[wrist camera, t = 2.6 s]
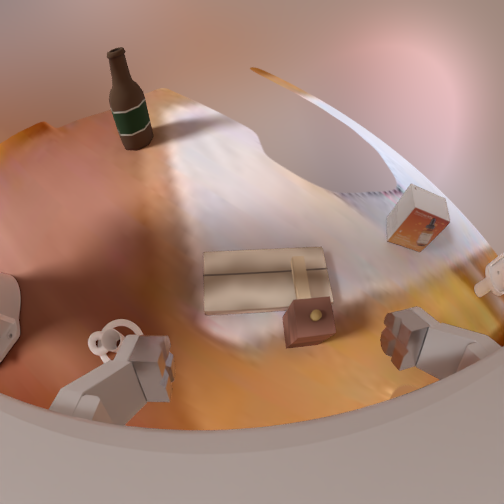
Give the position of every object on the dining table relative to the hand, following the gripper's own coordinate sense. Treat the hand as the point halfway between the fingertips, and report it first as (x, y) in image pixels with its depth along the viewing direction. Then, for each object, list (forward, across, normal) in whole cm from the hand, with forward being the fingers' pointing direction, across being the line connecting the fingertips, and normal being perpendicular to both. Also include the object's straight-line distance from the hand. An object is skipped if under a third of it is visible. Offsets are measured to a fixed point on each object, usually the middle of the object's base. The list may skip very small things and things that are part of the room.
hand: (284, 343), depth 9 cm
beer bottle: (+55, +22, -15) cm, 61 cm away
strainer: (+24, -48, +15) cm, 56 cm away
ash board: (+29, -3, +10) cm, 31 cm away
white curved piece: (+25, +20, +15) cm, 35 cm away
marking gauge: (+26, -7, +13) cm, 30 cm away
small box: (+34, -31, +6) cm, 46 cm away
